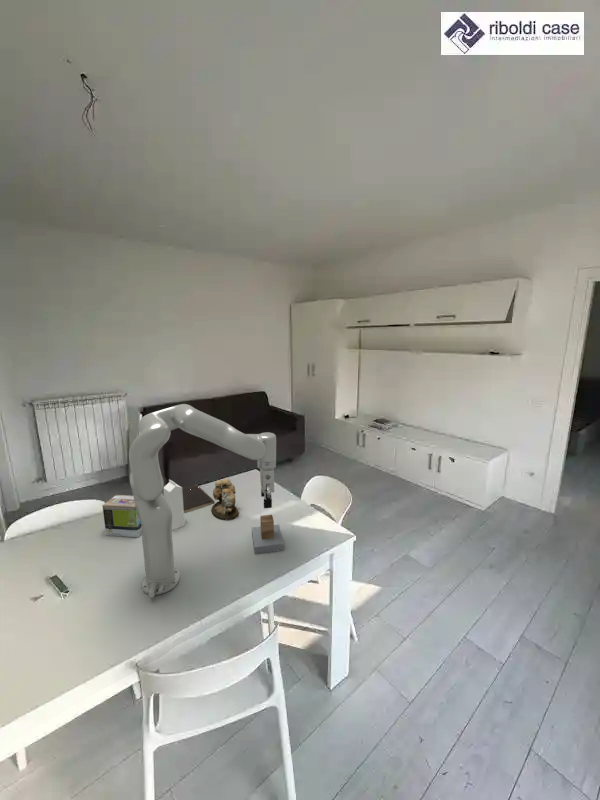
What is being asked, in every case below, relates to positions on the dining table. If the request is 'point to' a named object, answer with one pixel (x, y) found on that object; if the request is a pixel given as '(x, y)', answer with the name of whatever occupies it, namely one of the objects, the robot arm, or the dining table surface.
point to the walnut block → (267, 526)
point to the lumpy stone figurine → (224, 500)
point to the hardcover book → (195, 498)
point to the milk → (175, 503)
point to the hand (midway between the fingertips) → (266, 501)
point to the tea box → (122, 517)
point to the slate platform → (267, 541)
